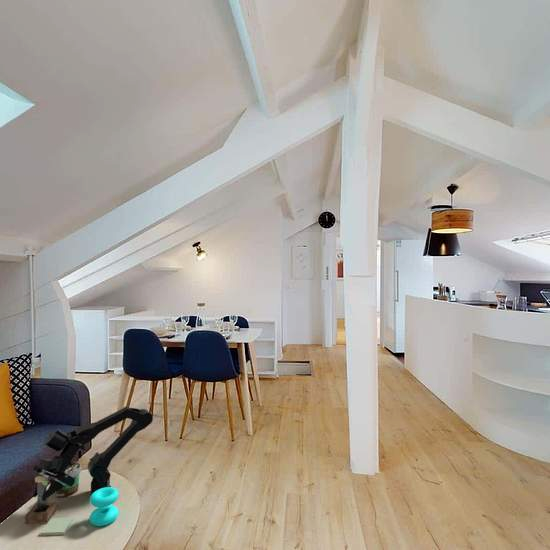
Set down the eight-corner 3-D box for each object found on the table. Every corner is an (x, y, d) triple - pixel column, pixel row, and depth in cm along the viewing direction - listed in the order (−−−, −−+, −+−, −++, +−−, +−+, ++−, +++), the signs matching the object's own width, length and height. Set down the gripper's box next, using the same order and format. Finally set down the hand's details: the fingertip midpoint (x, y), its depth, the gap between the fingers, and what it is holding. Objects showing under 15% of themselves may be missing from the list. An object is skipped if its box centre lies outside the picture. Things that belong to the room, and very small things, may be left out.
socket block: (57, 509, 151) (57, 502, 151) (47, 522, 143) (47, 514, 143) (36, 510, 150) (36, 502, 150) (24, 523, 142) (24, 515, 142)
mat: (73, 520, 144) (73, 517, 144) (63, 534, 136) (63, 531, 136) (51, 521, 144) (51, 518, 144) (40, 535, 136) (40, 532, 136)
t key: (32, 514, 146) (33, 478, 146) (40, 509, 149) (41, 474, 149) (42, 518, 144) (43, 482, 144) (50, 514, 146) (51, 478, 146)
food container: (67, 501, 156) (67, 477, 156) (54, 499, 157) (54, 475, 157) (87, 485, 168) (88, 462, 168) (75, 483, 169) (75, 461, 169)
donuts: (114, 500, 141) (85, 501, 140) (113, 527, 141) (85, 528, 140) (122, 485, 151) (95, 486, 150) (121, 510, 151) (95, 511, 150)
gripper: (37, 443, 154) (7, 484, 144) (68, 453, 146) (38, 498, 136) (56, 455, 161) (28, 495, 151) (86, 465, 153) (59, 508, 143)
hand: (38, 498), depth 145 cm, fingers closed on t key, 5 cm apart
